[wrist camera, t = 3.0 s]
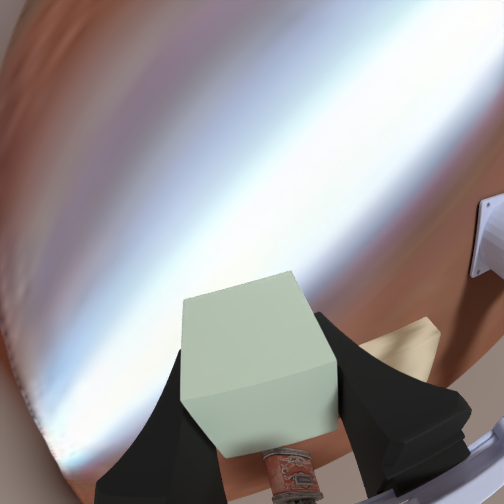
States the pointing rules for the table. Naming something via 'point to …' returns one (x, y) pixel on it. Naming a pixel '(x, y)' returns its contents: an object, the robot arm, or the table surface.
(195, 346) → the sage block
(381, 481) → the robot arm
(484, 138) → the table surface
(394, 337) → the maple block
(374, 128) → the table surface
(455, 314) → the table surface
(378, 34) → the table surface
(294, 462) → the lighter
